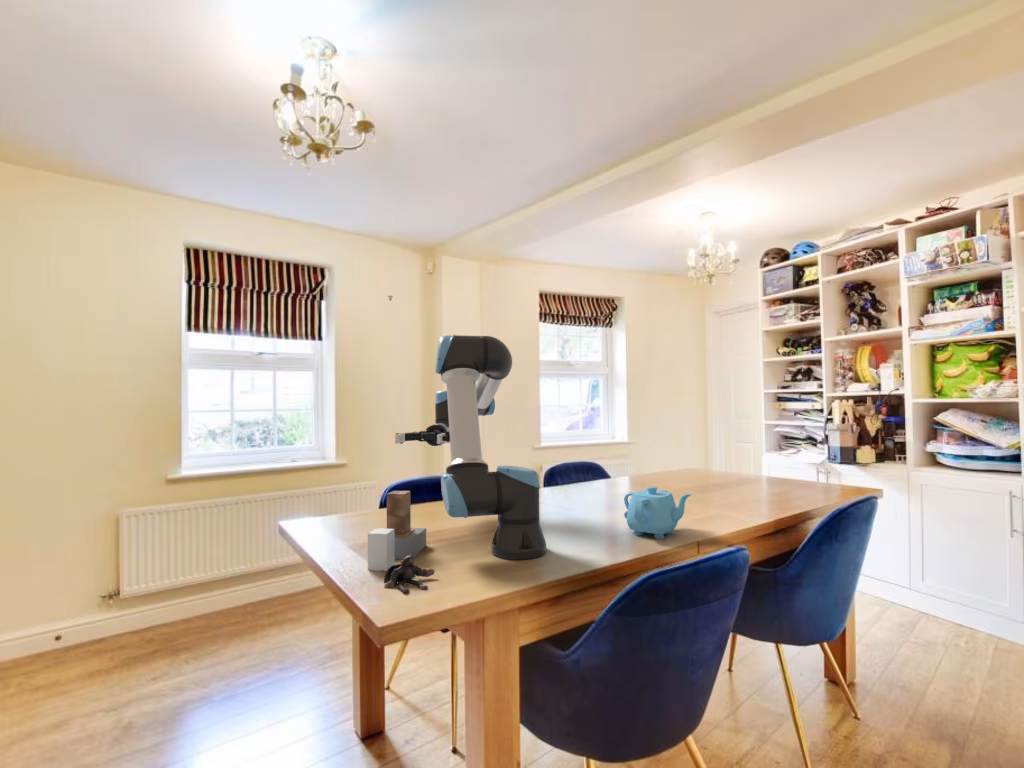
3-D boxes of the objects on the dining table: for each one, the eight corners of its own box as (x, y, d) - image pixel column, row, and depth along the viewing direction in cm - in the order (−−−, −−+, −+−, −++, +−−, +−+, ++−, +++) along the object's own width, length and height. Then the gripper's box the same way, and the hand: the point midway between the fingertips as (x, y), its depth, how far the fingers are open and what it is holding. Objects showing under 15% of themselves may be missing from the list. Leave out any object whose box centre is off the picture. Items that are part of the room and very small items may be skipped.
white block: (394, 564, 127) (394, 528, 128) (386, 570, 122) (386, 534, 123) (376, 563, 128) (376, 528, 128) (367, 569, 123) (367, 533, 123)
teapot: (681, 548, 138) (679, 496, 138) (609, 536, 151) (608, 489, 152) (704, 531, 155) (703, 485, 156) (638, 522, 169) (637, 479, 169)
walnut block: (410, 530, 140) (410, 490, 141) (404, 534, 136) (403, 494, 136) (393, 529, 141) (393, 490, 142) (386, 534, 136) (386, 493, 137)
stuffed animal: (388, 592, 106) (381, 548, 115) (385, 620, 111) (379, 575, 120) (442, 583, 110) (431, 541, 120) (437, 611, 115) (427, 568, 125)
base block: (426, 545, 143) (426, 527, 143) (411, 558, 131) (411, 538, 131) (386, 544, 145) (386, 526, 145) (368, 557, 133) (368, 537, 133)
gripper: (472, 445, 173) (456, 451, 152) (403, 445, 176) (378, 451, 156) (472, 423, 173) (455, 427, 152) (403, 424, 177) (378, 427, 156)
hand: (416, 439), depth 154 cm, fingers open, 13 cm apart
